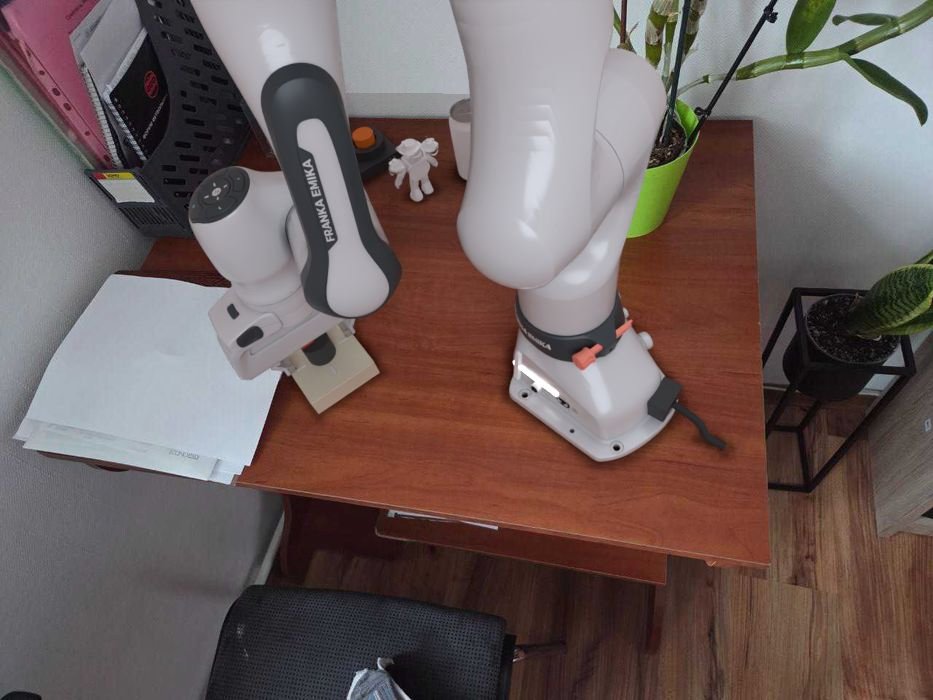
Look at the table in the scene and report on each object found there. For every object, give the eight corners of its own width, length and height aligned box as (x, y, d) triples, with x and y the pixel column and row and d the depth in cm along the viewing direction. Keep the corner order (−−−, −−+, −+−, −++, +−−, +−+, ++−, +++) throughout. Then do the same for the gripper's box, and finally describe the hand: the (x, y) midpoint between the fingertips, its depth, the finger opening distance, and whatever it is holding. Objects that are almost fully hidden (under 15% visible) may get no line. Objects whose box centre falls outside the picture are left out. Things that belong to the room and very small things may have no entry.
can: (496, 181, 102) (488, 121, 92) (457, 185, 103) (445, 125, 93) (496, 154, 106) (488, 94, 96) (458, 158, 106) (447, 98, 96)
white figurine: (406, 213, 101) (389, 156, 91) (394, 200, 103) (375, 143, 93) (450, 185, 103) (438, 126, 93) (437, 174, 105) (424, 115, 95)
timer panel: (379, 372, 86) (374, 361, 83) (318, 414, 84) (310, 404, 81) (345, 327, 91) (338, 315, 88) (286, 365, 89) (277, 354, 86)
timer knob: (326, 336, 86) (317, 321, 83) (341, 354, 84) (332, 339, 81) (303, 353, 86) (292, 338, 82) (317, 371, 84) (307, 357, 80)
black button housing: (402, 159, 108) (397, 141, 105) (364, 182, 107) (358, 164, 103) (376, 135, 113) (370, 117, 109) (339, 156, 111) (332, 138, 108)
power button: (379, 141, 106) (376, 133, 105) (361, 152, 105) (358, 143, 104) (368, 132, 108) (365, 123, 106) (351, 142, 107) (348, 133, 106)
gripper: (342, 230, 76) (371, 296, 88) (194, 320, 72) (246, 377, 84) (367, 259, 73) (394, 324, 85) (215, 355, 69) (265, 409, 81)
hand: (320, 351), depth 84 cm, fingers open, 8 cm apart
